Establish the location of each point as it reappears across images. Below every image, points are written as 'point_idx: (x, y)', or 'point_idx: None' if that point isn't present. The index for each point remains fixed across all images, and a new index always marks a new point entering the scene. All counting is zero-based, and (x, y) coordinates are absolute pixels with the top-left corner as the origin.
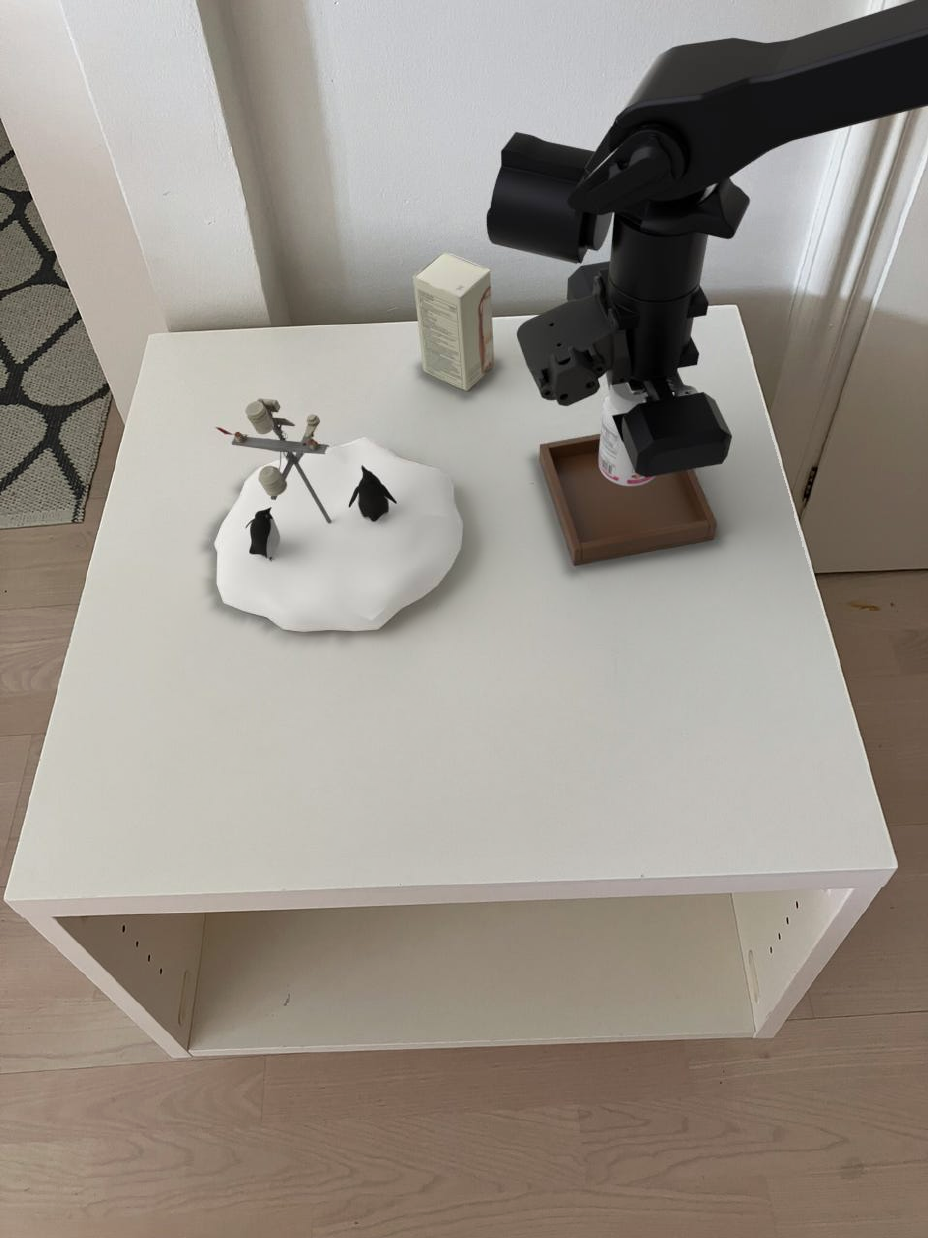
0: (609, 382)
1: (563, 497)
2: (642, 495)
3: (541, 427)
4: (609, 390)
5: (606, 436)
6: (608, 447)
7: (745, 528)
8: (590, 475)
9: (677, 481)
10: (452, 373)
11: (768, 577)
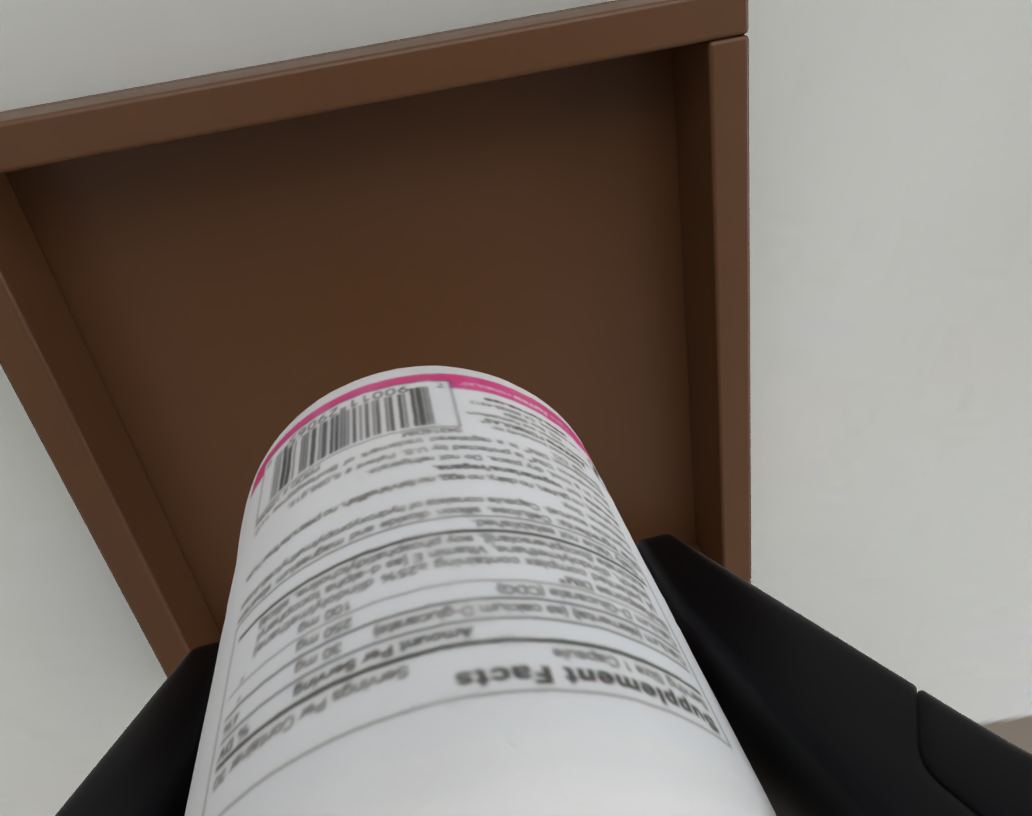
0: (886, 811)
1: (316, 104)
2: None
3: (904, 21)
4: (847, 666)
5: (329, 618)
6: (295, 571)
7: None
8: (545, 251)
9: None
10: None
11: (64, 798)
